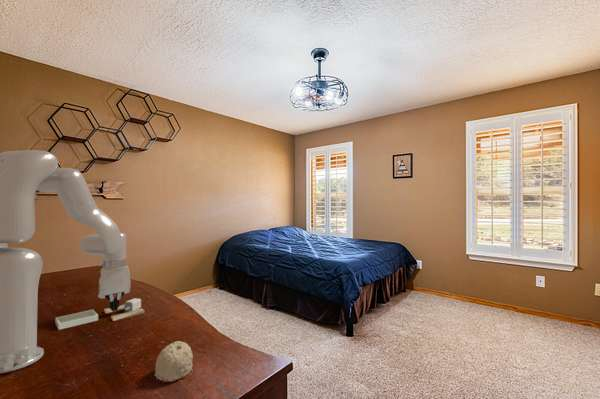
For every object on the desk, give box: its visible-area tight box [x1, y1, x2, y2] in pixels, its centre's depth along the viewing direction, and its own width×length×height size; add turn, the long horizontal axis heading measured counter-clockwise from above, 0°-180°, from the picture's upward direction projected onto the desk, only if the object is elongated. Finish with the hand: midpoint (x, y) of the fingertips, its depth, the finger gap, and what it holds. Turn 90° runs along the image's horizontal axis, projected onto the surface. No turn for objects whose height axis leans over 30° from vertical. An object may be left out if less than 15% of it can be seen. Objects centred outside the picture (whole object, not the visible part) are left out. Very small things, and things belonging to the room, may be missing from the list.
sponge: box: [154, 340, 194, 381], centre depth 76 cm, size 9×10×10 cm
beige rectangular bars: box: [103, 303, 146, 322], centre depth 117 cm, size 14×11×1 cm
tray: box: [54, 309, 99, 331], centre depth 108 cm, size 8×12×2 cm
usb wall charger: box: [121, 297, 142, 312], centre depth 119 cm, size 4×7×4 cm, turn 165°
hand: (114, 310), depth 115 cm, fingers closed
